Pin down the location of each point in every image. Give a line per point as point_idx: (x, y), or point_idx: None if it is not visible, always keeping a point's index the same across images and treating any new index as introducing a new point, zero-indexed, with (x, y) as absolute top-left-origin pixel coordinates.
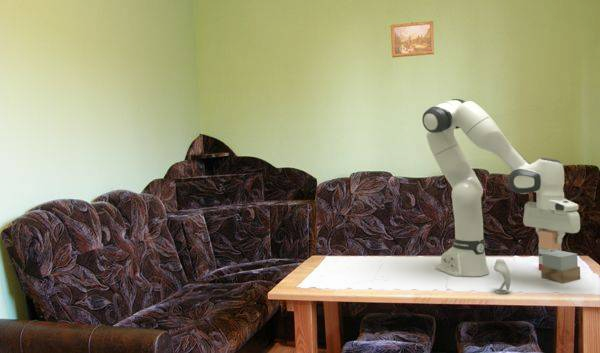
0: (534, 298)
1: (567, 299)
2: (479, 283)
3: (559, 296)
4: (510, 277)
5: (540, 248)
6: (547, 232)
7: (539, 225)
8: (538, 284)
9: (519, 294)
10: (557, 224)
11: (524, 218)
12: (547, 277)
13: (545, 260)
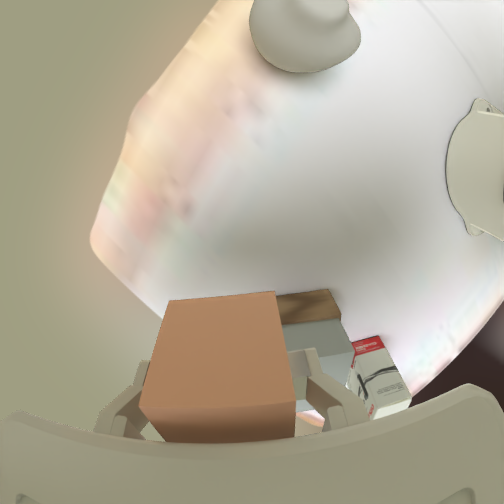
0: (166, 92)
1: (111, 181)
2: (401, 80)
3: (144, 182)
4: (261, 45)
5: (398, 384)
6: (187, 406)
7: (319, 458)
8: (286, 230)
9: (229, 79)
10: (85, 484)
11: (501, 430)
12: (308, 296)
13: (332, 335)
